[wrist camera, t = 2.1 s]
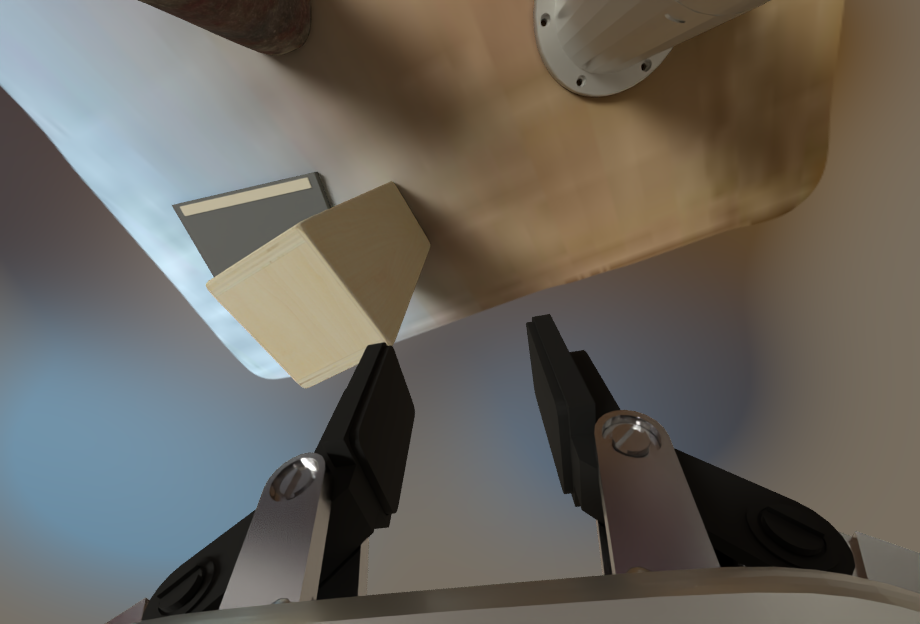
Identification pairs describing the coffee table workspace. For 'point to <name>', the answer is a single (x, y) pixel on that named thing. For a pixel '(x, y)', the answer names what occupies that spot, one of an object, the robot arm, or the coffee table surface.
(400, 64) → the coffee table surface
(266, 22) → the brown rounded cylinder
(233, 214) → the mat
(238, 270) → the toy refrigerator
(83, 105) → the coffee table surface
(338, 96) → the coffee table surface
